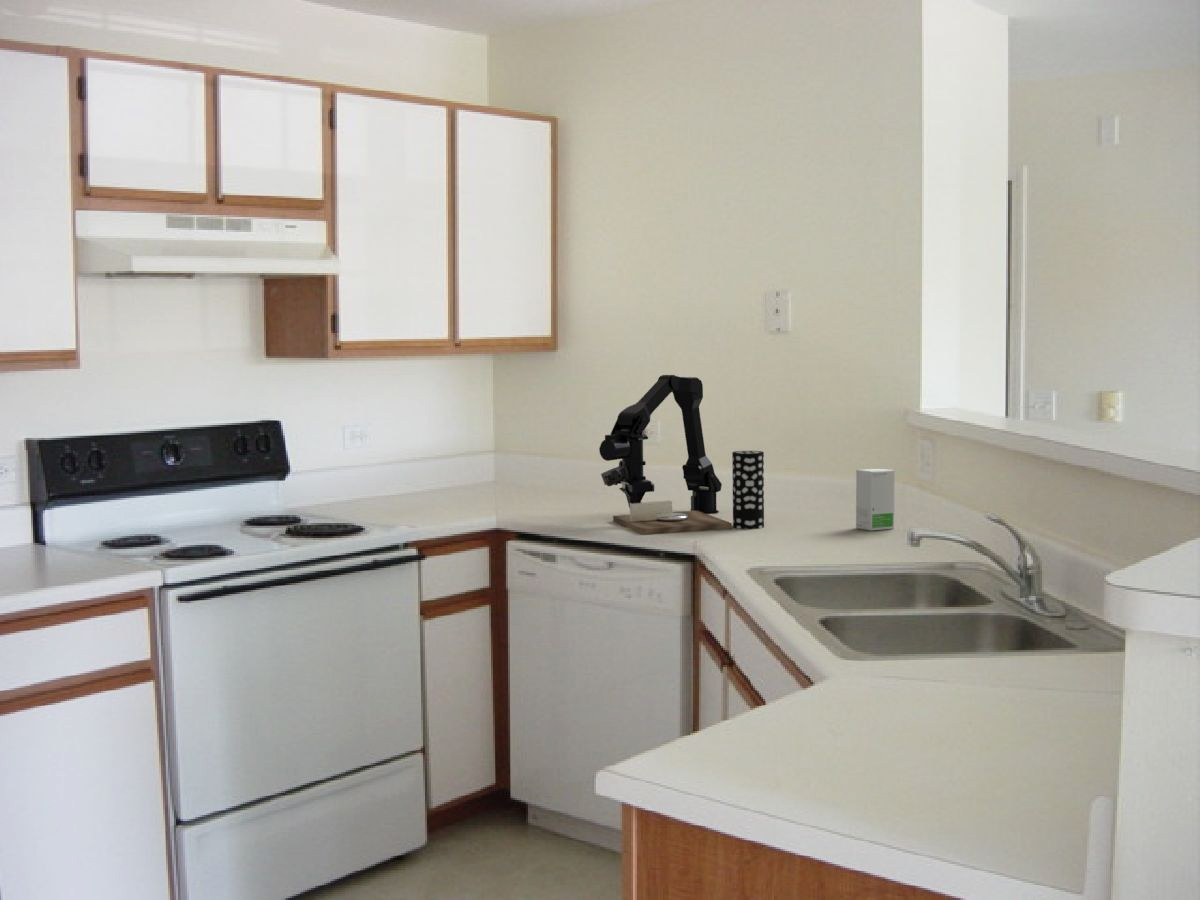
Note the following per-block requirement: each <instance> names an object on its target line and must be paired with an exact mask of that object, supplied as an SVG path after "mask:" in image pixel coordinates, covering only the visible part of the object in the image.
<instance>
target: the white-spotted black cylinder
mask: <svg viewBox="0 0 1200 900" xmlns="http://www.w3.org/2000/svg"><path fill="white" fill-rule="evenodd" d="M731 454H732V469H731V470H732V527H733V528H735V529H739V528H740V529H742V530H757V529H762V528H765V475H764V473H765V467H764V466H765V459H764V458H765V455H764V451H761V450H737V451H736V450H735V451H733V452H732V453H731Z"/></svg>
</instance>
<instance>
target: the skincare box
mask: <svg viewBox="0 0 1200 900" xmlns="http://www.w3.org/2000/svg"><path fill="white" fill-rule="evenodd" d="M855 473H856V475H855V476H856V477H855V479H856V480H855V482H856V485H855V486H856V488H855V490H856V491H855V492H856V493H855V500H856V501H855V508H856V509H855V528H856V529H860V530H864V531H869V532H870V531H881V530H882V531H883V530H893V529H895V469H883V468H866V469H865V468H864V469H856V470H855Z"/></svg>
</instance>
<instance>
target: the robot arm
mask: <svg viewBox="0 0 1200 900" xmlns="http://www.w3.org/2000/svg"><path fill="white" fill-rule="evenodd" d="M671 393H672V394H673V398H674V401H675V402H676V404H677V406H678V407H679V408H680V409H681V415H682V421H683V422H682V423H683V428H684V430H683V431H684V435H685V442H686V451H687V461H686V463H685V464H682V467H681V469H682V472H683V479H684V480H685V483H686V487H687V488H686V489H687V491H691V492H692V495H691V496H690V510H689V511H700V512H702V513H705V514H714V513H719V512H720V511H719V509H718V510H717V493H719V492H721V490H722V486H723V484H722V482H721V481H720V479H719V478H718V476H717V475H716V473H715V470H714V465H713V463H712V462H711V460H710V459H709V457H708V456H707V454H706V449H705V442H704V434H703V433H704V432H703V428H702V427H703V426H702V420H701V412H700V405H701V403H702V400H703V398H704V386H703V382H702V380H701V379H700V378H698V377H696V376H695V377H694V376H688V377H687V376H678V375H675V374H662V375H660V376H659V377H658V379H657V381H656V382H655V383H654V384H653V385H652V386H651V387H650V388H649V390H648V391H647V392H646V393H645V394H644V395H643V396H642V397H641V398H640V399H639V400H638V401H637V402H635V403H634V404H632V405H630V406H627V407H625V408H624V409H623V410H621V411H620V412H619V414H618V416H617V418H616V421H615V423H614V425H613V428H612V430H611V432H610V434H605V435H604V440H602V441H601V443H600V445H599V455H600V457H601V458H602V459H603V460H604V461H607V462H609V461H615V460H616V461H618V460H619V462H618V466H615V467H613V468H611V469H608V470H606V471H605V472H602V473H601V474H600V475H601V478H602V482H603V483H604V485H605V486H607V487H611V486H617V485H619V484H620V485H621V487H618V488H619V491H621V492H622V493H624V494H625V497H626V500H627V504H628V507H629V509H630V503H637V502H642V501H643V497H644V496H645V494H646V493H651V492H652V493H653V492H655V483H654V482H652V481H651V480H649V479H646V477H647V476H645V475H644V466H647V465H646V463H647V462H646V461H645V460H644V440H649V436H648V435H647V434H646V433H645V430H646V428H647V427H648V425H649V424H650V422H651V416H652V414H653V413H654V411H655V410H657V408H658V407H659V406H660V405H661V404H662V403H663V402H664V401H665V400H666V399H667V398H668V396H669V395H670V394H671Z"/></svg>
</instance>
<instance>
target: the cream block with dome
mask: <svg viewBox="0 0 1200 900" xmlns="http://www.w3.org/2000/svg"><path fill="white" fill-rule="evenodd" d="M672 512H673V501H672V500H669V499H668V500H656V501H655V500H654V501H653V500H651V501H641V502H637V503H630V508H629V515H630V521H632V522H633V521H647V520H662V521H678V520H685V519H687V518H688V515H687V514H682V513H672Z"/></svg>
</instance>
